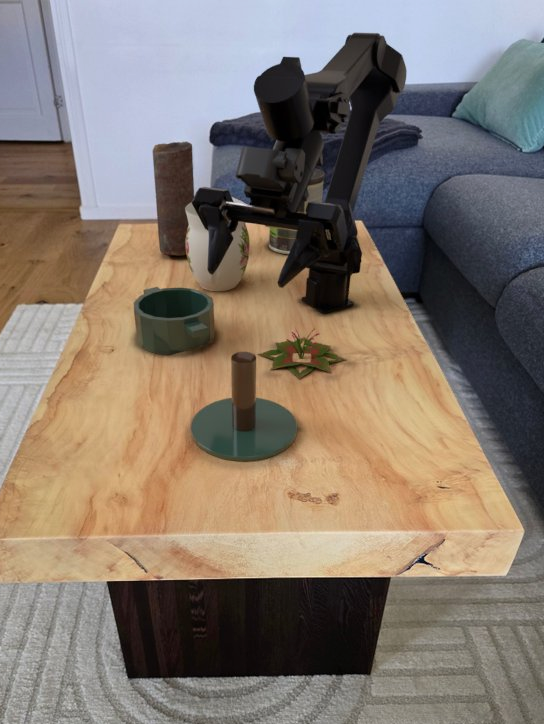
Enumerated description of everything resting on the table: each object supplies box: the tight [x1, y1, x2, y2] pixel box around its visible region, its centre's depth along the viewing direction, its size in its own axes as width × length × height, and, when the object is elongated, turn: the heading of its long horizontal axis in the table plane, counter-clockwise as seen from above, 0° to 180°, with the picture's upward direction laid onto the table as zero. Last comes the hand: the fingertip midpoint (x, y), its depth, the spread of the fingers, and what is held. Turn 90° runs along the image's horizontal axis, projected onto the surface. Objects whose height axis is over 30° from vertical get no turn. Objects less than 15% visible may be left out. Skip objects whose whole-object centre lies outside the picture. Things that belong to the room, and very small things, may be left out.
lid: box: [190, 351, 298, 462], centre depth 73 cm, size 13×13×10 cm
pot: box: [133, 286, 215, 356], centre depth 94 cm, size 12×17×6 cm
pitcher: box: [185, 195, 251, 292], centre depth 108 cm, size 11×18×14 cm, turn 177°
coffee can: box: [268, 167, 326, 256], centre depth 124 cm, size 10×10×14 cm
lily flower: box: [257, 327, 347, 380], centre depth 88 cm, size 12×12×5 cm
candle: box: [152, 141, 195, 257], centre depth 119 cm, size 8×7×20 cm
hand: (244, 279), depth 74 cm, fingers open, 9 cm apart
